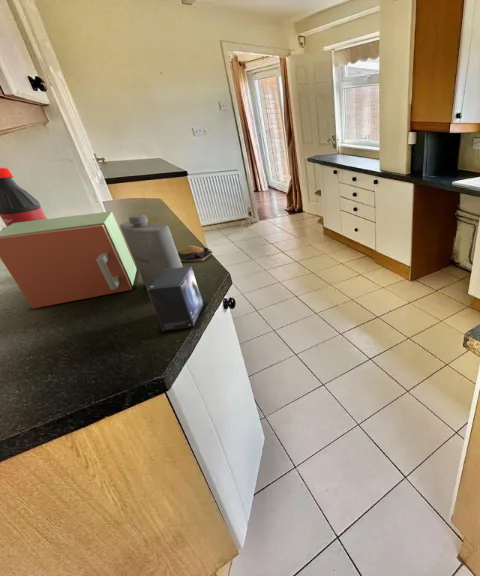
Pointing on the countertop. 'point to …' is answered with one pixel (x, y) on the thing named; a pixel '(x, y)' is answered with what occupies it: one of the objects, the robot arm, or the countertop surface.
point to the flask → (150, 247)
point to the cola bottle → (17, 202)
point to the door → (64, 265)
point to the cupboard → (79, 222)
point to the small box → (176, 298)
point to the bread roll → (193, 253)
